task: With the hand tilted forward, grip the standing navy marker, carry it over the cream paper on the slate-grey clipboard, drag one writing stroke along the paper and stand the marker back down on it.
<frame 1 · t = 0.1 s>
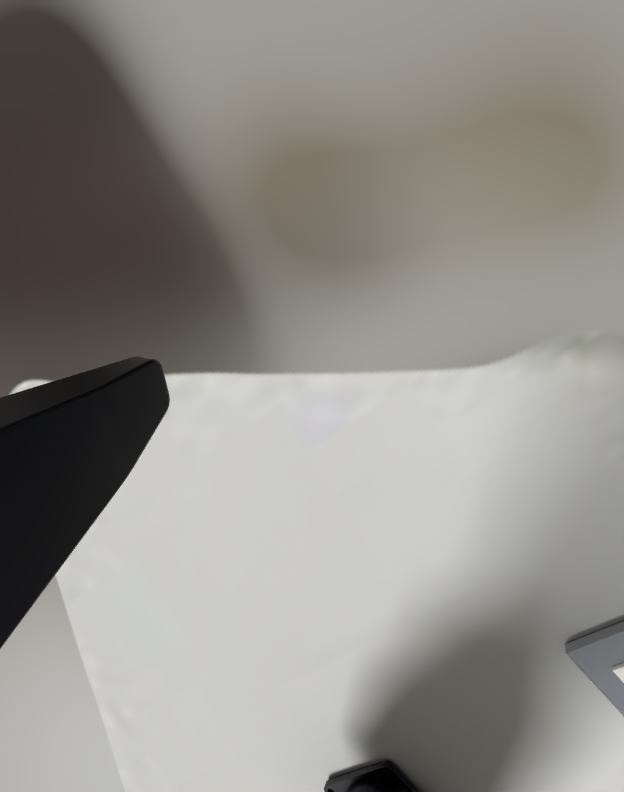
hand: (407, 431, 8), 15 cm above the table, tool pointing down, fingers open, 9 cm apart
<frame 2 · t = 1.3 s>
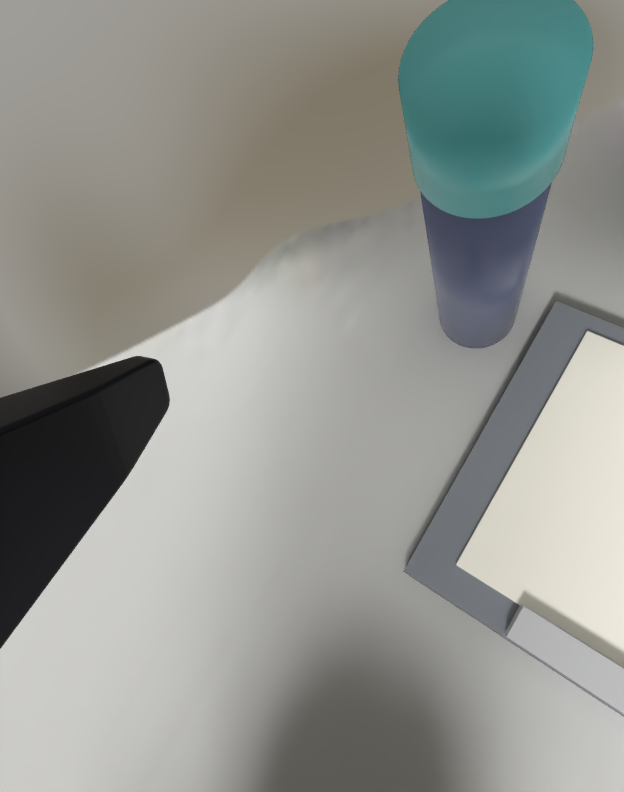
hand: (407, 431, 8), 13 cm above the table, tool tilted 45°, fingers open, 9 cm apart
marker: (476, 313, 21), on the table
when the fingers open (8 cm above the table, at t = 8.9 s): marker stays where it is, resting on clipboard.
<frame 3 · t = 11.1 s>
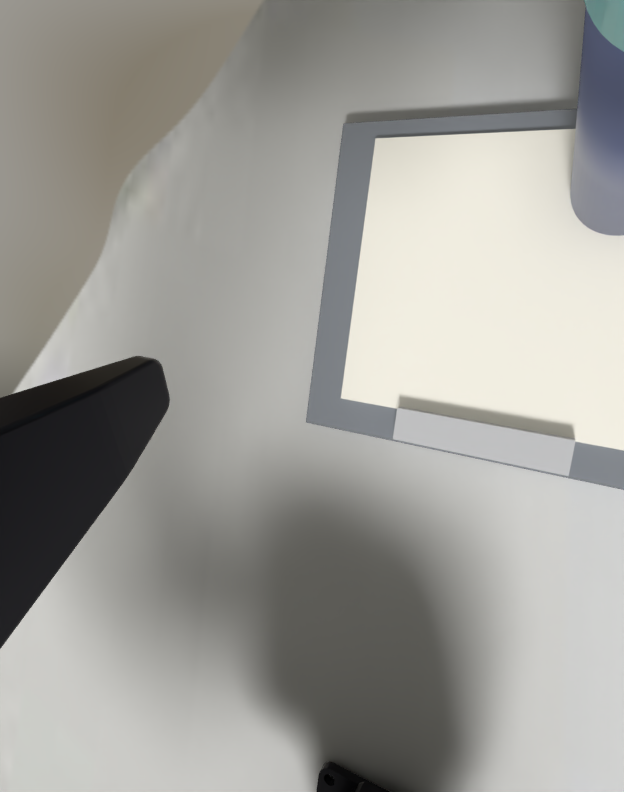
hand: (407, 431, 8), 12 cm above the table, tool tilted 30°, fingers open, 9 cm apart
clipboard: (506, 294, 18), on the table
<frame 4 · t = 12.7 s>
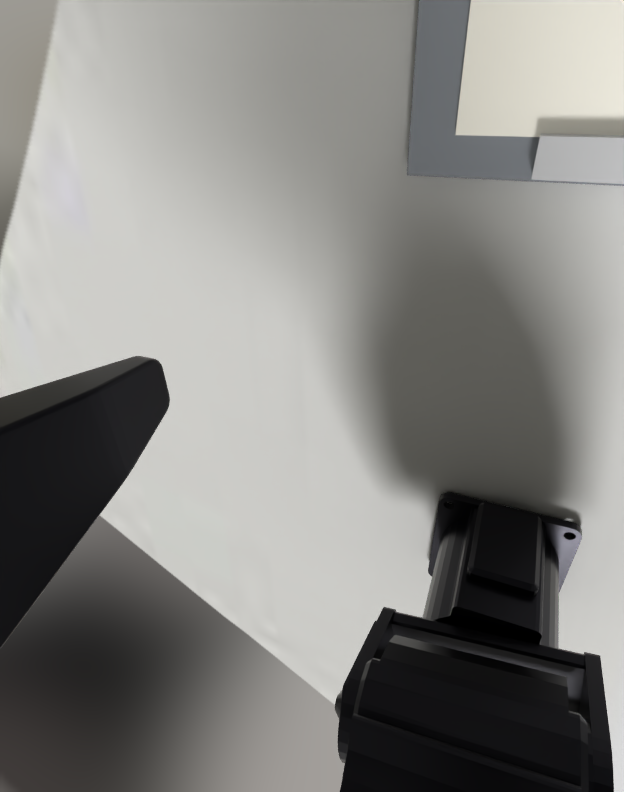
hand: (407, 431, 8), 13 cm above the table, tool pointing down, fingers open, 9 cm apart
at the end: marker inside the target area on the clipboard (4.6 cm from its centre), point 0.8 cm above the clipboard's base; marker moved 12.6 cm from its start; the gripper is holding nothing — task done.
